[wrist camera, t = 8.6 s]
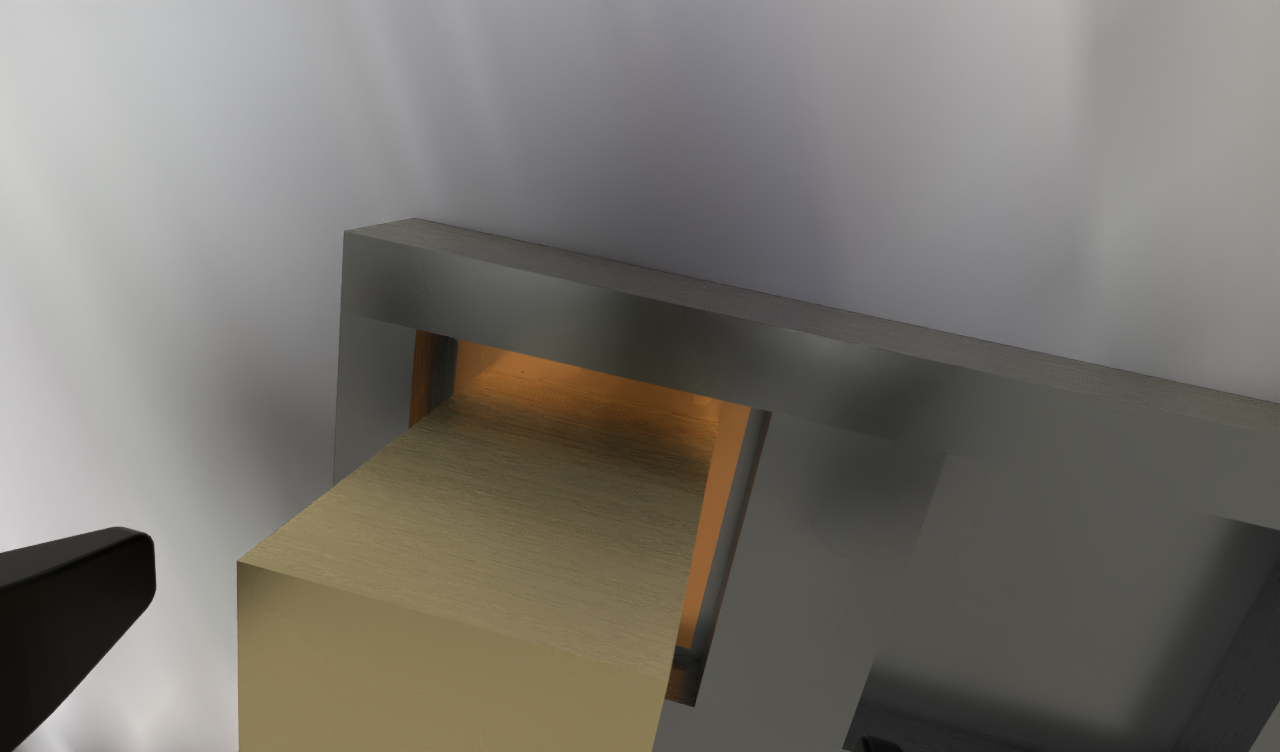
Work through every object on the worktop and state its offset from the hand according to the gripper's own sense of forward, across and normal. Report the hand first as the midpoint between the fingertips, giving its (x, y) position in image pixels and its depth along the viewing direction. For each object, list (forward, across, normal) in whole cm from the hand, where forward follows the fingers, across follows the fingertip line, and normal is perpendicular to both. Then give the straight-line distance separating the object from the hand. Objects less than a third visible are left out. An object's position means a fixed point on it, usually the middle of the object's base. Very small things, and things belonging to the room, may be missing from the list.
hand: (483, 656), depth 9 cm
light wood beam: (+4, 0, 0) cm, 4 cm away
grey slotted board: (+5, -4, 0) cm, 7 cm away
